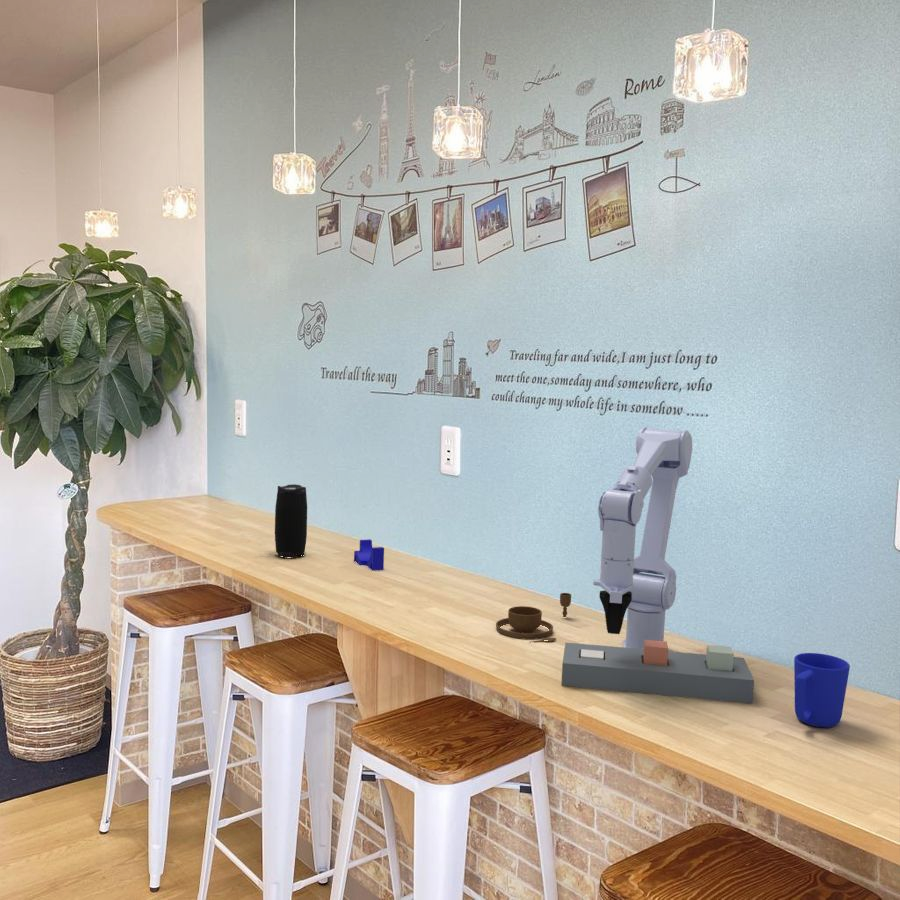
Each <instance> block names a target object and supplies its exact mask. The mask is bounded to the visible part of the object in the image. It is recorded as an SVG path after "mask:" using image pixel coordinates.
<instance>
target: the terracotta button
mask: <svg viewBox="0 0 900 900" xmlns="http://www.w3.org/2000/svg"><path fill="white" fill-rule="evenodd" d="M668 651H669V646H668V641H665V640H664V641H655V640H644V646H643V663H644V664H655V665H666V666H667V661H668Z"/></svg>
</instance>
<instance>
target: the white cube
mask: <svg viewBox="0 0 900 900" xmlns="http://www.w3.org/2000/svg"><path fill="white" fill-rule="evenodd" d="M603 657H604V651H595V650H584V649H581V658H587V659H599V660H603Z"/></svg>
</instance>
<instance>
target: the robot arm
mask: <svg viewBox="0 0 900 900" xmlns="http://www.w3.org/2000/svg"><path fill="white" fill-rule="evenodd" d="M635 451H636V454H637V455H636V457H635V460H634V463H633V465H628V466H627V467H625V468H624V469H623V471H622V472H621V474H620V476H619V477H618V479H617V481H616V482H615V484H614V485H613V487H612V489H610V488H608V489H607V490H606V491H603V492H602V493H601V494H600V497H599V502H598V506H597V512H598V517H599V528H600V531H601V533H602V536H601V537H602V539H601V554H600V555H601V558H600V573H599V576H600V577H599V578H600V579H598V578H597V579H596V578H594V579H593V581H592V582H593V583H592V584H593V586H596V587H597V586H598V587H600V588H601V589H602V590H600V591H599V600H600V603H601V604H602V607H603V610H604V611H603V612H604V616H605V625H606V632H607V633H608V634H611V635H612V634H613V635H620V634H621V630H622V628H623V623H624V618H625V614H626V612H627V614H626V615H627V616H626V617H627V618H626V629H625V631H626V634H625V639H622V647H624V648H636V649H643V646H644V640H655V641H665V640H664V639H665V621H666V610H669V609H670V608H672V607H673V605H674V603H675V600H676V594H677V593H676V592H677V574H676V571H675V569H674V568H673V567H672V566H671V565H670V564H669V563H668V562H667V561H666V560H665V558H666V552H667V545H668V542H669V541H668V540H669V535H670V529H671V522H672V516H673V510H674V505H675V504H674V503H675V500H676V499H675V498H676V494H677V493H676V492H677V490H678V489H677V488H678V485H679V480H680V478H683V477H685V476H687V475H688V471H689V469H690V464H691V461H692V453H693V438H692V434H691V433H690V432H689V430H675V429H674V430H673V429H661V428H660V429H659V428H648V427H642V428H641V429H640V430H639V431H638V433H637V436H636V440H635ZM649 490H650V495H649V501H648V507H647V512H646V518H645V524H644V530H643V535H642V541H641V547H640V553H639V555H637V556H636V557H635V552H636V551H635V549H636V548H635V546H636V532H637V531H636V529H637V525H638V523H640V520H641V516H642V512H643V508H644V505H645V502H644V500H645V497H646V496H647V494H648V493H649Z"/></svg>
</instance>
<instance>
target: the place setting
mask: <svg viewBox="0 0 900 900" xmlns="http://www.w3.org/2000/svg"><path fill="white" fill-rule="evenodd" d="M559 603H560V606H561V607H562V617H567V616H568V610H567V609H568V607H570V606H571V603H572V593H569V592H560V594H559ZM542 614H543V611H542V610H541V609H539V608H537V607H533V606H521V605H520V606H519V605H518V606H512V607H510V608H509V609H508V615H507V617H506V618H502V619H499V620H497V621H496V622H495V628H496V630H497V632H498V631H499V632H498V633H500V634H501V635H504V636H506V637H509V636H510V637H509V638H514V637H515V638H514V639H521V638H525V639H524V640H531V641H529V642H530V643H529V644H532V643H531V642H534V643H553V642H555V641H556V640H557V638H556V637H550V635H552V633H553V631H554V626H553V624H552V623H550V622H548V621H545V620H543V619H542ZM506 624H509V625H510V627H511V628H513V629H514V631H510V630H507V629H504V628H503V627H504V626H503V625H505V626H507V625H506ZM540 625H542V626H545V627H547V628H548V629H549V631H548V630H546V631H542V632H535V633H534V632H533V631H535V630H537V629H539V627H540ZM501 626H503V627H501ZM500 627H501V628H500ZM520 632H521V633H520ZM531 632H532V633H531ZM546 636H547V638H546ZM542 637H544V638H542ZM535 638H538V639H539V640H534V639H535ZM532 640H533V641H532ZM544 640H548V641H544ZM552 641H553V642H552Z"/></svg>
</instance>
